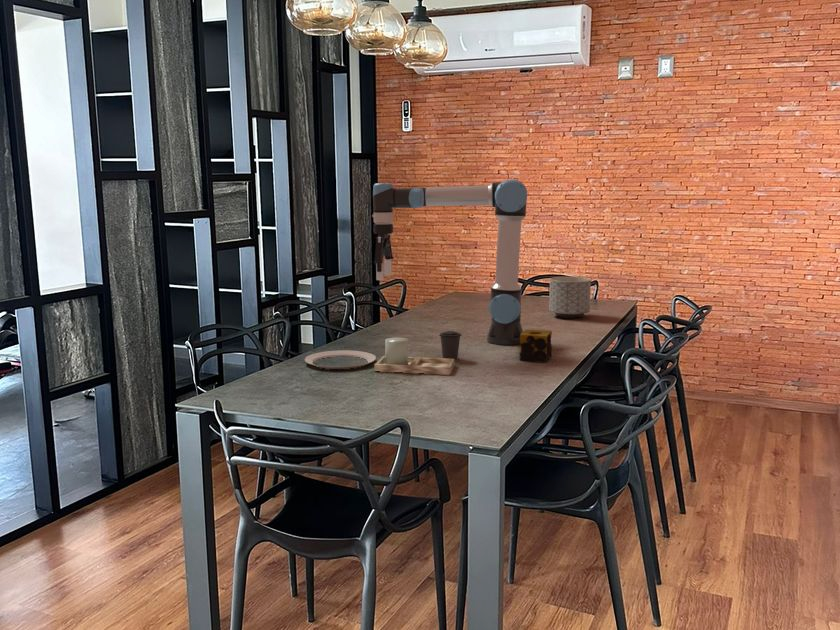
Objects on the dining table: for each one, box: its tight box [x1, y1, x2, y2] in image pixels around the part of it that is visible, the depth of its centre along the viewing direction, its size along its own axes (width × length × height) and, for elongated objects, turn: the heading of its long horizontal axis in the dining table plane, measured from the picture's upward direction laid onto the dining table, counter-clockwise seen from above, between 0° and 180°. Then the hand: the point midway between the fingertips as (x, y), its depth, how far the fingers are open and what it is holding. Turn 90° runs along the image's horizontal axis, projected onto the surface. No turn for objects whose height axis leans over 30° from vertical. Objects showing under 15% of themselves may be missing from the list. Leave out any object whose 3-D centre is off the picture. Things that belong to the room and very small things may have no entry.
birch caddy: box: [373, 355, 456, 376], centre depth 271 cm, size 26×13×2 cm, turn 80°
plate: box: [304, 349, 377, 370], centre depth 280 cm, size 26×26×2 cm
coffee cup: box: [438, 330, 462, 361], centre depth 285 cm, size 8×8×10 cm
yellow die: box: [519, 329, 553, 363], centre depth 284 cm, size 10×10×10 cm
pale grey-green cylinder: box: [384, 337, 409, 365], centre depth 271 cm, size 8×8×9 cm
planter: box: [548, 276, 592, 319], centre depth 369 cm, size 19×19×18 cm
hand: (384, 278), depth 305 cm, fingers open, 13 cm apart
